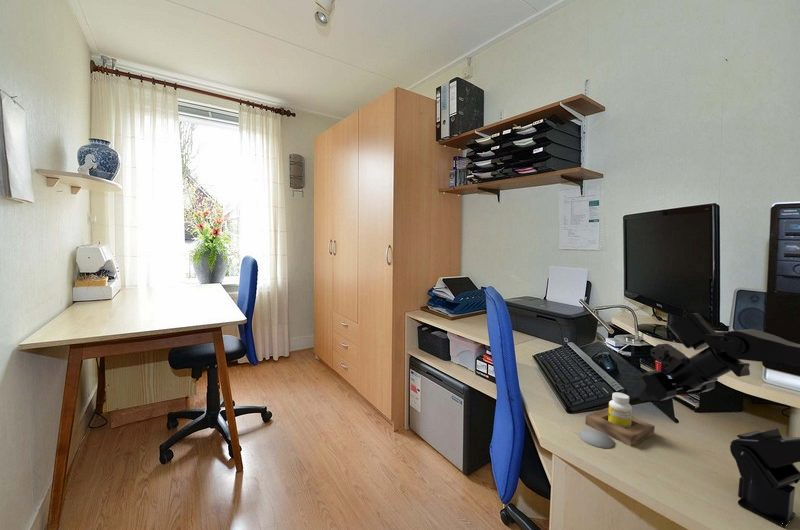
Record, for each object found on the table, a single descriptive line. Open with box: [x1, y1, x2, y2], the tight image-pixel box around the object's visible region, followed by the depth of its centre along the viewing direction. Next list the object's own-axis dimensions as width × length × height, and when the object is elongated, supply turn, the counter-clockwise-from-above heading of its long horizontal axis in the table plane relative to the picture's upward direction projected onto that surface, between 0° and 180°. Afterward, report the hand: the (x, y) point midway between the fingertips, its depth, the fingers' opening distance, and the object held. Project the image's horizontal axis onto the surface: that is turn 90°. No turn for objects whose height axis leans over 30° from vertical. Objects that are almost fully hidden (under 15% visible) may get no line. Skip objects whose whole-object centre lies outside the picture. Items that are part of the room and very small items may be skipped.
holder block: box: [584, 406, 656, 447], centre depth 94 cm, size 12×12×2 cm
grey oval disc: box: [578, 428, 615, 449], centre depth 89 cm, size 8×8×1 cm
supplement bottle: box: [608, 392, 633, 429], centre depth 94 cm, size 5×5×10 cm
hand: (651, 396), depth 86 cm, fingers open, 9 cm apart
